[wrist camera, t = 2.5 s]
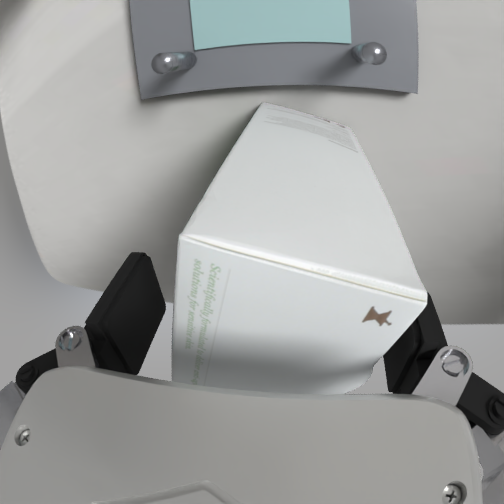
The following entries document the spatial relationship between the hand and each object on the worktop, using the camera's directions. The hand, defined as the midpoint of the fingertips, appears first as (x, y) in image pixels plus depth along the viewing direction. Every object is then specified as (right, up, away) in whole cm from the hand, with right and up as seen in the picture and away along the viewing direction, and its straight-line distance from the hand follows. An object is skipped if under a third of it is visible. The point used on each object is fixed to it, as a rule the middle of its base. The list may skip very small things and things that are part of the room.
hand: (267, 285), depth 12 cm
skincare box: (+2, +7, +9) cm, 12 cm away
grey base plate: (0, +18, +1) cm, 18 cm away
